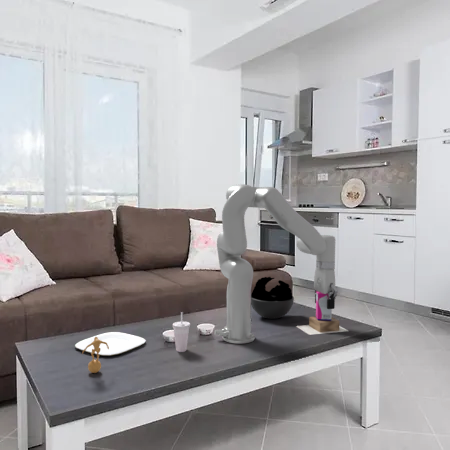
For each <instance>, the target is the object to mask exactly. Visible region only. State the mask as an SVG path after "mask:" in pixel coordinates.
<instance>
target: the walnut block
mask: <svg viewBox="0 0 450 450" xmlns="http://www.w3.org/2000/svg"><path fill="white" fill-rule="evenodd" d="M340 322H341V321H340V320H338V319H336V318H334V317H331V321H323V320H317V318H316V315H315V316H309V317H308V325H309V326H310V327H311V328H313V329H315V330H317V331H318V332H330V331H339V326H340Z"/></svg>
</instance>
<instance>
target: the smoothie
mask: <svg viewBox="0 0 450 450" xmlns="http://www.w3.org/2000/svg"><path fill="white" fill-rule="evenodd" d="M190 327H191V323H190V322H189V321H184V320H183V311H182V312H181V311H180V321H176V322H173V323H172V328H173V337H174V343H175V344H174V345H175V351H176V352H179V353H184V352H186V351H187V349H188V341H189V332H190Z"/></svg>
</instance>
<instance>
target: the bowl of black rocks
mask: <svg viewBox="0 0 450 450" xmlns="http://www.w3.org/2000/svg"><path fill="white" fill-rule="evenodd" d="M274 279H275V277H271V276H264V277H261V278H258V279H257V281H256V282H255V286H254V287H253V289H252V291H251V308H252V309H253V310H254V311H255V313H257V315H259V316H260V317H262V318H264V319H268V320H277V319H280V318H282V317H284V316H286V315H287V313H289V312H290V310H291V309H292V307H293V305H294V301H295V298H294V296H293V292H292V289H291V287H290V284H289V283H287V282H284V281H283V280H278V281H277V282H278V283H279V285H278V284H276V285H275V286H274V287H272V288H271V289H270V290H269V291H268V290H266V285H267V284H268V283H270V282H271V281H272V280H274Z"/></svg>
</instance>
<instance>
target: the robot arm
mask: <svg viewBox="0 0 450 450" xmlns="http://www.w3.org/2000/svg"><path fill="white" fill-rule="evenodd" d="M225 199H226V201H225V204H224V206H223V207H222V211H221V221H222V225H221V226H222V231H221V232H219V234H218V236H217V238H216V248H217V249H216V250H217V256H218V264H219V269H220V272H221V274H222V275H223V276H224V278H226V279H228V283H227V286H226V287H227V288H226V325H224V327H223V328H222V329H215V330H213V332H214V336H219V337H222V340H223V341H224V342H227V343H230V344H239V345H241V344H243V345H244V344H248V343H252V342H253V341H255V334H253V333H252V331H251V330H252V305H251V294H252V288H253V287H252V285H253V281H254V268H253V266H252V264H251V263H250V262H249V261H248V260H246V259H244V258H242V256H241V255H243V254H244V253H245V252H246V250H247V248H248V240H247V232H246V226H245V214H246V212H247V210H248V209H249V208H256V209H257V208H258V209H259V208H262V209H265V210H266V211H267V212H268V213H269V215H270V216H271V218H272V219H274V221H275V222H276V223H277V225H278V226H279V227H281V228H282V229H284V231H287V232H289V233H291V234H292V235H294V236H296V237H297V240H296V247H297V249H298V250H299V251H300V252H301V253H304V254H309V255H313V256H315V257H316V258H315V259H316V263H315V264H316V265H315V271H314V277H313V278H314V279H313V283H312V284H313V289H314V304H316V291H318V292H320V293H323V294H327V297H328V299H327V309H332V310H333V309H334V310H335V308H336V307H335V303H336V298H337V294H338V289H337V288H336V274H335V273H336V271H335V267H336V237H335V236H334V235H329V234H328V235H327V234H321V233H320V232H319V231H318V229H317V228H315V226H314V225H312V224H311V223H310V221H308V220H306V219H305V218H304V217H303V216H302V215H300V214H299V213H298V212H297V211H296V210H295V208H293V206H292V205H291V204H290V203H289V202H288V199H286V198H285V197H284V195H283V194H282V193H281V192H280V190H278V188H275V187H273V186H252V185H249V184H234V185H232V186H230V187H229V188H228V189H227V190H226V192H225ZM330 294H331V296H330Z"/></svg>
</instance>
